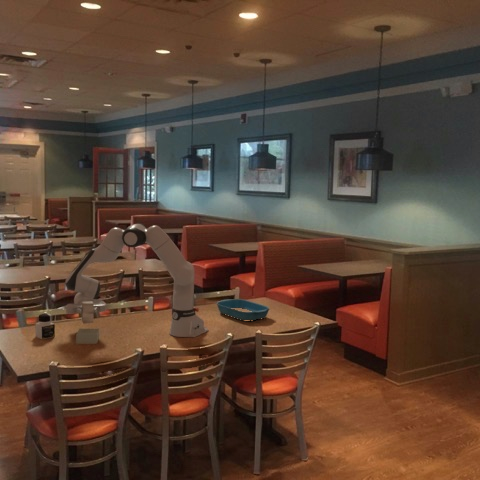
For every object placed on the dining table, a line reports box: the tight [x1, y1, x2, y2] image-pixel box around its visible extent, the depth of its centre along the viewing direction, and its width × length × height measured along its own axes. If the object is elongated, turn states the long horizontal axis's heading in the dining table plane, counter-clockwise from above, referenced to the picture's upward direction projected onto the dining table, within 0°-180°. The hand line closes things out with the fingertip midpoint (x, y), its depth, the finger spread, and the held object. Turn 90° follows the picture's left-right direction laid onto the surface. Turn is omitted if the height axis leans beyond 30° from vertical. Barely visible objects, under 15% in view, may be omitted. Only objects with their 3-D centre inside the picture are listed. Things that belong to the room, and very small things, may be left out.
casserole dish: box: [216, 298, 270, 321], centre depth 333 cm, size 37×22×7 cm, turn 41°
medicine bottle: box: [34, 313, 56, 340], centre depth 276 cm, size 7×7×12 cm
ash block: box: [81, 301, 95, 325], centre depth 272 cm, size 5×5×10 cm
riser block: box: [75, 328, 100, 345], centre depth 274 cm, size 10×10×5 cm
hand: (88, 311), depth 271 cm, fingers closed on ash block, 5 cm apart
